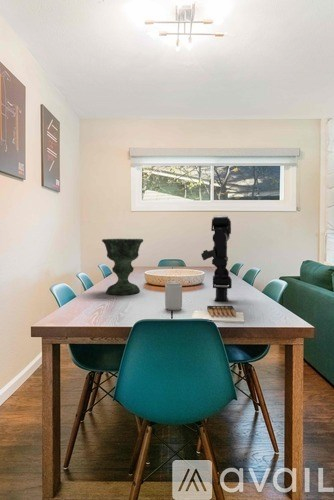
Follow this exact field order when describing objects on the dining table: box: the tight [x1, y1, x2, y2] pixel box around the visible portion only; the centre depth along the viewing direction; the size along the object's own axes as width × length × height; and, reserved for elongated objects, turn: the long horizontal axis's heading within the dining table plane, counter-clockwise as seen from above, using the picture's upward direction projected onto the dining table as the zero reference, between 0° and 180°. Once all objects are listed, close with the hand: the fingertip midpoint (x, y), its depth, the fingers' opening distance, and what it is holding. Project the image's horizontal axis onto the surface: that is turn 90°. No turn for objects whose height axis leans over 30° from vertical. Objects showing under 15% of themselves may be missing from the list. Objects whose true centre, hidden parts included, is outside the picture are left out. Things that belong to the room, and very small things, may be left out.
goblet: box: [101, 238, 144, 296], centre depth 185 cm, size 22×23×30 cm
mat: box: [190, 309, 245, 324], centre depth 133 cm, size 14×20×1 cm
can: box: [164, 280, 183, 311], centre depth 147 cm, size 8×8×12 cm
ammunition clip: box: [206, 305, 236, 317], centre depth 135 cm, size 11×2×12 cm
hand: (220, 278), depth 149 cm, fingers closed
